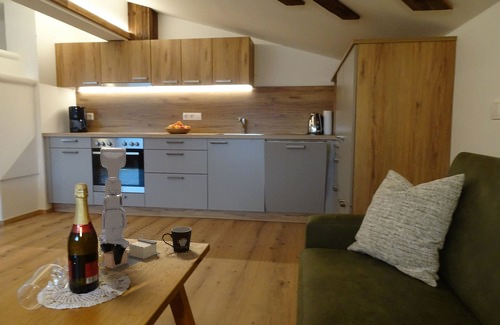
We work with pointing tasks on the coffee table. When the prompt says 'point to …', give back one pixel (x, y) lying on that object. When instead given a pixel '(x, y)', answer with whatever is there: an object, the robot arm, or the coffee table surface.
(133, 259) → the mat
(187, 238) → the coffee mug
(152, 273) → the coffee table surface
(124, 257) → the stub
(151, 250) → the pad
